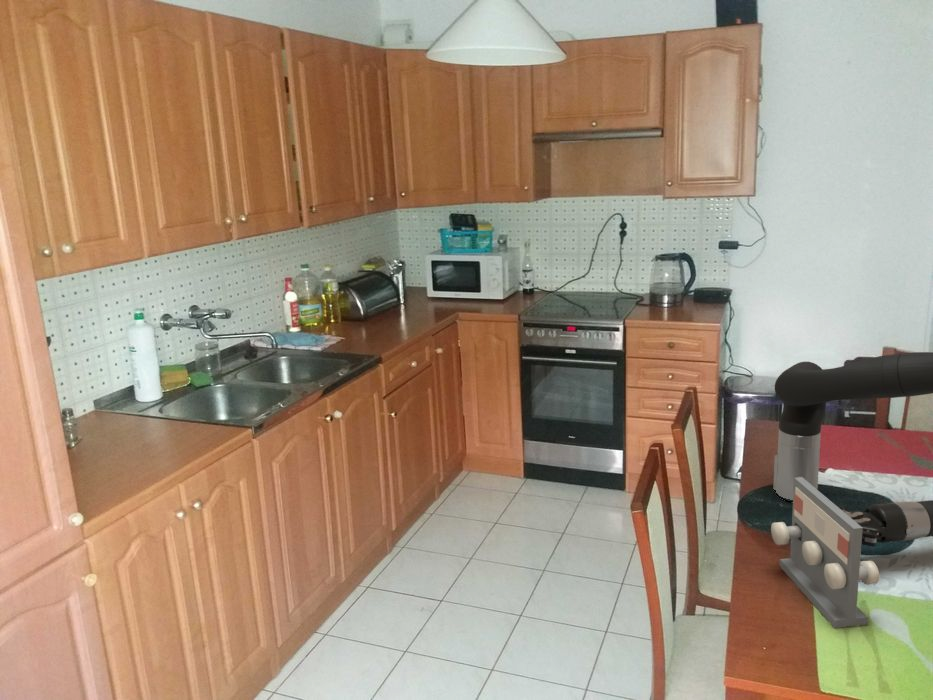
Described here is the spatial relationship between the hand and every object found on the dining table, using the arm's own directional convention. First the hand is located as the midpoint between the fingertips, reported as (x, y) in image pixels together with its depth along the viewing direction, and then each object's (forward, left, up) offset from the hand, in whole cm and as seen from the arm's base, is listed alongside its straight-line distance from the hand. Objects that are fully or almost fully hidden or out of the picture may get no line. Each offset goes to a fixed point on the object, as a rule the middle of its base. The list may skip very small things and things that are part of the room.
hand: (814, 529), depth 151 cm
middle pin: (+7, -4, -2) cm, 8 cm away
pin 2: (+15, -6, -2) cm, 16 cm away
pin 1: (-1, -4, -2) cm, 4 cm away
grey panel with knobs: (+7, -4, -9) cm, 12 cm away
